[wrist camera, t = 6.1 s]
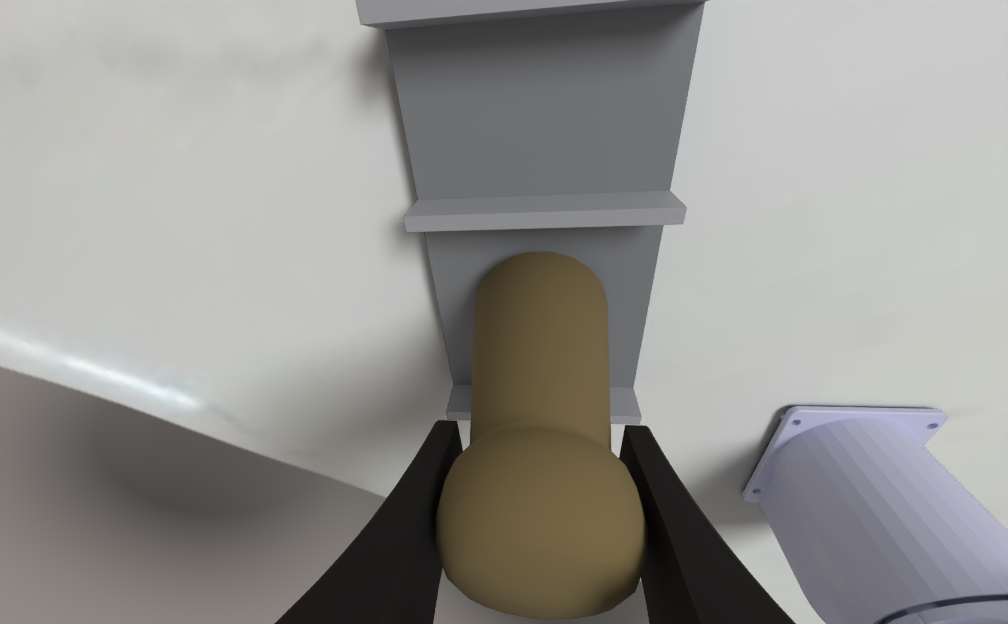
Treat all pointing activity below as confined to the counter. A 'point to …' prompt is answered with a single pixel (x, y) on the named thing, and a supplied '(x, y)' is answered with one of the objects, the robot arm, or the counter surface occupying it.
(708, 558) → the robot arm
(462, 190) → the rack
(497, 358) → the cork
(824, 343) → the counter surface
